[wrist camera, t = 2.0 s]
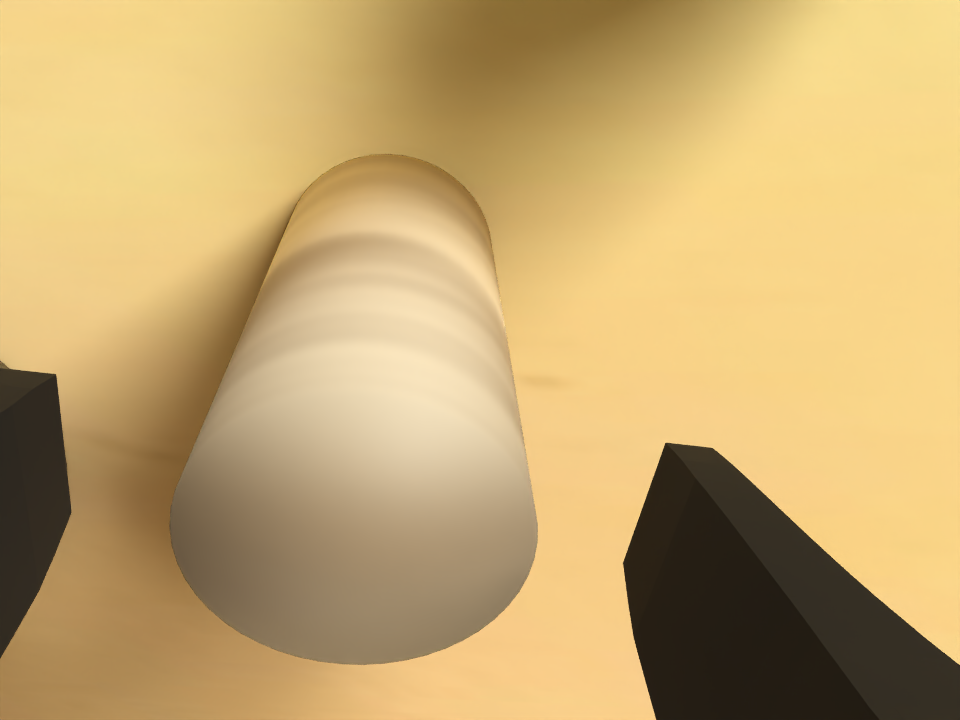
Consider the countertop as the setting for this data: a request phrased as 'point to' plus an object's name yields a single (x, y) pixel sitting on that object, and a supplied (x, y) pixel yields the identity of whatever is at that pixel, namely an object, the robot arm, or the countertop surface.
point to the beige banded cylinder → (365, 432)
